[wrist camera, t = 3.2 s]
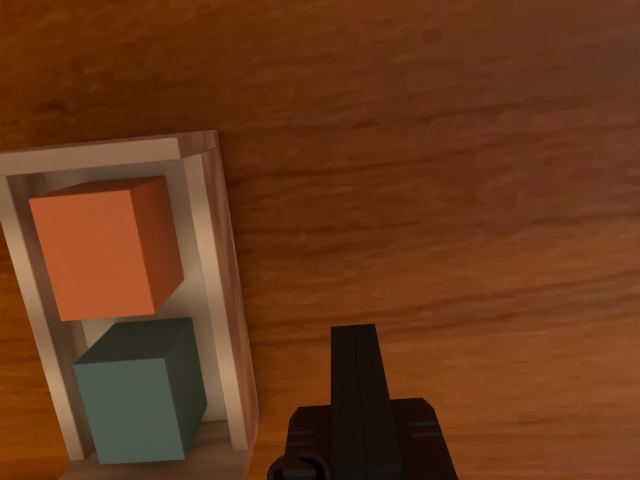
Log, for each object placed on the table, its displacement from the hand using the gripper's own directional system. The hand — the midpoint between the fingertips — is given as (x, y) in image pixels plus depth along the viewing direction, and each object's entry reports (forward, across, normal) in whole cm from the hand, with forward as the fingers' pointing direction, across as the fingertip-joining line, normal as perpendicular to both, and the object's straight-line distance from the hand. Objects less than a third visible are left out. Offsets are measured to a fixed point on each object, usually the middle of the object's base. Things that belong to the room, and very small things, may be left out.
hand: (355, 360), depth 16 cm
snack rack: (+8, -10, 0) cm, 13 cm away
